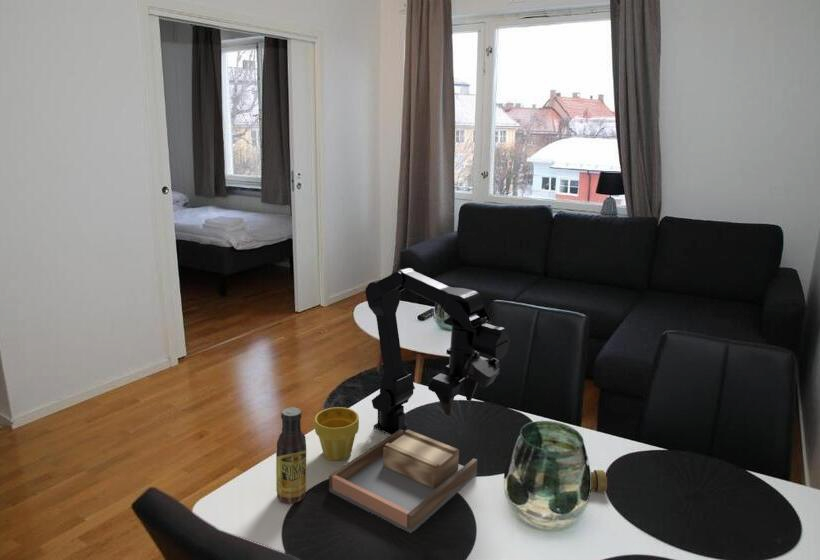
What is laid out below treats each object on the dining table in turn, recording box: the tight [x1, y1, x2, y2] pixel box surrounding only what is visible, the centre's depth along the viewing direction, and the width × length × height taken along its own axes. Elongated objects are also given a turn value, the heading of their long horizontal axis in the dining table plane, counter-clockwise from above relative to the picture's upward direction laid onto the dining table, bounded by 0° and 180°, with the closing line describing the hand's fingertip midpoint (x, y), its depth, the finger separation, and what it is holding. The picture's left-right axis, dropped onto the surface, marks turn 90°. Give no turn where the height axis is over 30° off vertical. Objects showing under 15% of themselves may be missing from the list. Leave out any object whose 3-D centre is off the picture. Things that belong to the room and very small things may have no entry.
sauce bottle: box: [275, 406, 307, 505], centre depth 123 cm, size 6×6×20 cm
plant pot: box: [314, 406, 360, 462], centre depth 141 cm, size 10×10×10 cm
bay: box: [328, 429, 478, 534], centre depth 131 cm, size 22×25×4 cm
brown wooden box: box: [383, 429, 460, 488], centre depth 135 cm, size 14×10×5 cm
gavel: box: [590, 469, 608, 493], centre depth 138 cm, size 21×5×10 cm
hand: (458, 407), depth 138 cm, fingers open, 9 cm apart
